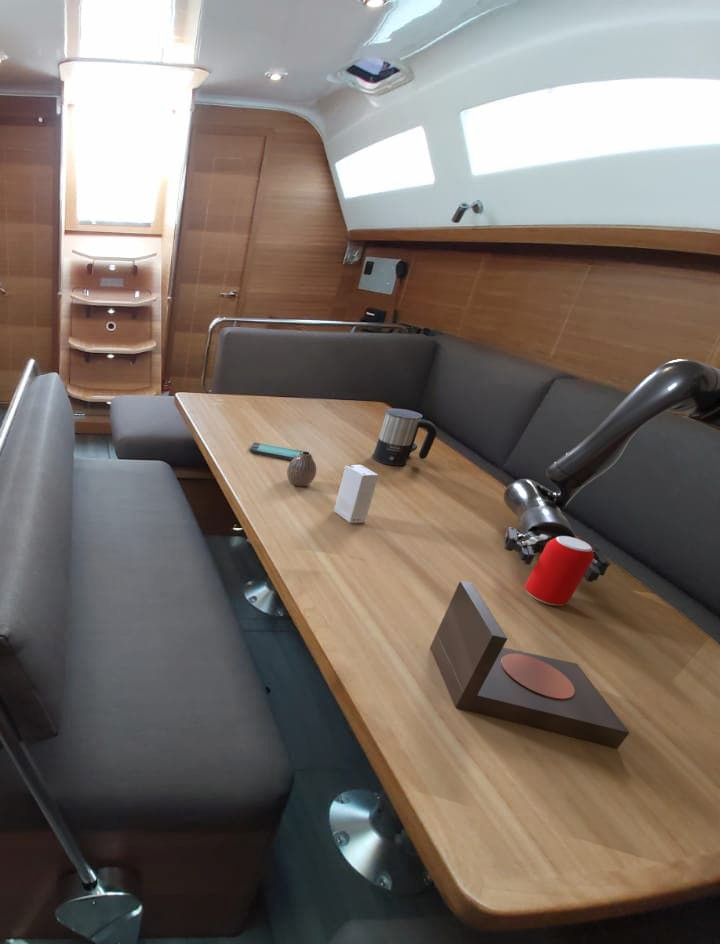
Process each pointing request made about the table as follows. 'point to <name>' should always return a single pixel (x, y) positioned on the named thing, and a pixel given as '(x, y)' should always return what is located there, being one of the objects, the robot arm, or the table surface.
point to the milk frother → (402, 437)
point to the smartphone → (274, 451)
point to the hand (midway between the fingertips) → (560, 568)
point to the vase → (302, 469)
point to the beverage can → (559, 570)
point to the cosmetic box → (355, 493)
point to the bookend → (516, 677)
